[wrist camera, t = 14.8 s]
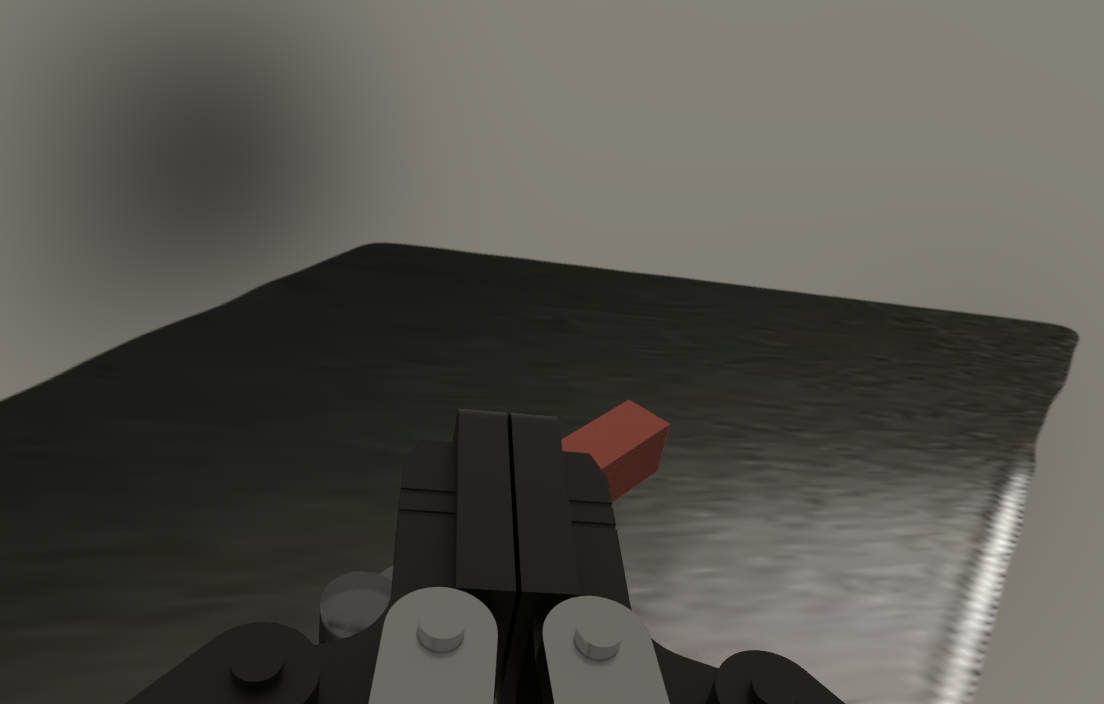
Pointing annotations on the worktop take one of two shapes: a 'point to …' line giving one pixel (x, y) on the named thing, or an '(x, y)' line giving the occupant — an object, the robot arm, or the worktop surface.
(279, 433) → the worktop surface
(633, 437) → the lever
